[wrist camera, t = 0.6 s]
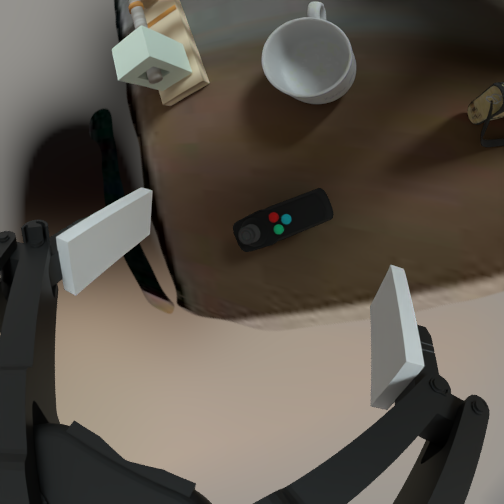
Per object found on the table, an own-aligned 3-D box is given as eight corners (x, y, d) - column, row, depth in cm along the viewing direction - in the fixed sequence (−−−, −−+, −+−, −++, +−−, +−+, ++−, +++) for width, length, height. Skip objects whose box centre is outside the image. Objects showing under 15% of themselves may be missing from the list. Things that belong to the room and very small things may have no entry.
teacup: (343, 121, 38) (334, 109, 30) (270, 96, 40) (247, 82, 33) (374, 35, 32) (371, 9, 25) (302, 15, 35) (285, -11, 28)
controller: (252, 215, 46) (219, 226, 37) (331, 182, 40) (316, 185, 31) (264, 243, 46) (233, 260, 37) (343, 213, 41) (332, 224, 32)
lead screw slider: (209, 83, 43) (168, 66, 34) (170, 106, 47) (125, 97, 37) (174, -13, 41) (138, -34, 31) (142, 10, 44) (104, -6, 35)
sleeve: (192, 72, 41) (149, 56, 32) (162, 91, 44) (118, 80, 35) (182, 44, 41) (141, 25, 32) (154, 63, 43) (111, 49, 34)
